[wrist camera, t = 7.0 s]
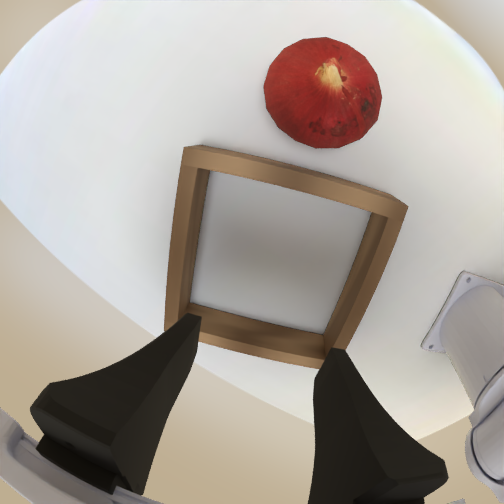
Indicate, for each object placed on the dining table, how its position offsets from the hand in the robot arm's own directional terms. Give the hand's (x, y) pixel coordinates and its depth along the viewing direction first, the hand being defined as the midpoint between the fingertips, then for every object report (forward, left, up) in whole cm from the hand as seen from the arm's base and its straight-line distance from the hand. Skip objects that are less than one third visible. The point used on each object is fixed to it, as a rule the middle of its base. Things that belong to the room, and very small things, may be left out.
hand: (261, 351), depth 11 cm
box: (0, 0, -9) cm, 9 cm away
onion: (0, -11, -10) cm, 15 cm away
